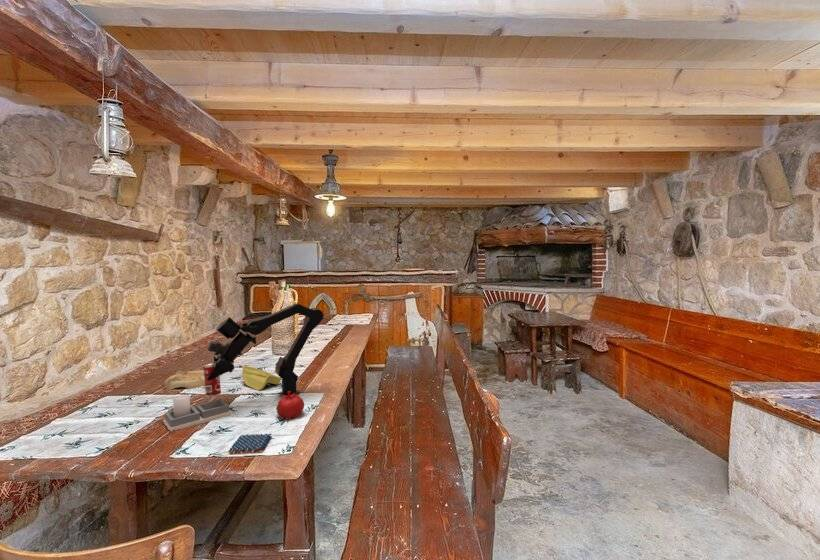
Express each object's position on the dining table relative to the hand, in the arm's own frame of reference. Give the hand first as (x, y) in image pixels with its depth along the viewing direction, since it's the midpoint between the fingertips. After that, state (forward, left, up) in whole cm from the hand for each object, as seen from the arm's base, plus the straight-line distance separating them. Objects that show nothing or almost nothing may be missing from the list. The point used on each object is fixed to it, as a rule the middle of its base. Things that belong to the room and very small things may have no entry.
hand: (207, 378), depth 153 cm
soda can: (-1, -1, -7) cm, 7 cm away
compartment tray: (-6, +6, -12) cm, 15 cm away
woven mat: (-41, +4, -13) cm, 43 cm away
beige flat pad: (+41, -9, -13) cm, 44 cm away
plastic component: (+13, -28, -13) cm, 34 cm away
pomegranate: (-30, -17, -13) cm, 36 cm away
